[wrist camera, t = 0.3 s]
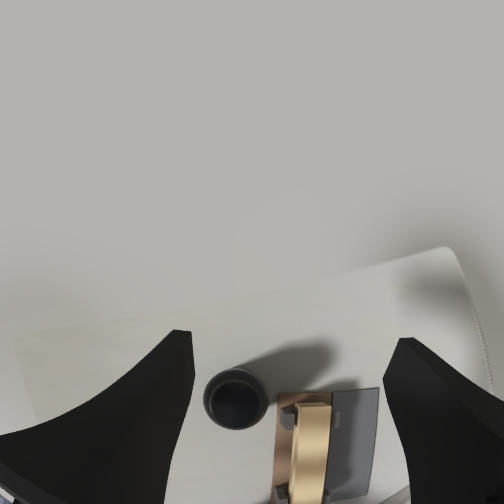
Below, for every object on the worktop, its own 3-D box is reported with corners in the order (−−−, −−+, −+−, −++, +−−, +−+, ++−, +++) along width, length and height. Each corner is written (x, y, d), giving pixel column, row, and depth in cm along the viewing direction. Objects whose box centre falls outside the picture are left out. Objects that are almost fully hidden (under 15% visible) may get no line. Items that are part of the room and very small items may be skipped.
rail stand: (318, 501, 28) (329, 517, 23) (269, 504, 28) (274, 522, 23) (328, 392, 35) (343, 396, 30) (278, 393, 35) (285, 398, 29)
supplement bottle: (268, 375, 35) (282, 380, 24) (254, 422, 33) (262, 447, 22) (217, 361, 36) (209, 361, 25) (203, 408, 33) (189, 427, 22)
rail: (312, 506, 26) (318, 517, 22) (286, 508, 26) (290, 519, 22) (322, 402, 32) (331, 406, 28) (295, 403, 31) (301, 407, 28)
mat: (365, 493, 28) (366, 494, 28) (321, 501, 28) (322, 502, 28) (377, 388, 35) (378, 388, 35) (332, 392, 35) (333, 392, 34)
